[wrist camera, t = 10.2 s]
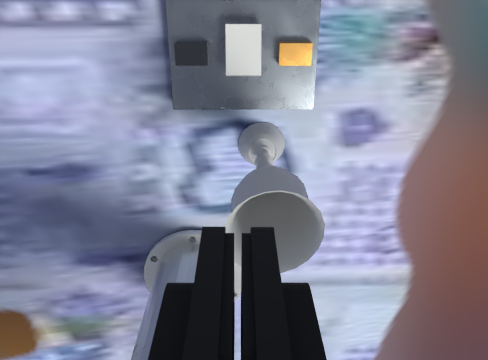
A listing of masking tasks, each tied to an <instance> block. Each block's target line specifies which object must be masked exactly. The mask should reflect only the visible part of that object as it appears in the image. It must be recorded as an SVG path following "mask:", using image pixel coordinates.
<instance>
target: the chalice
mask: <svg viewBox="0 0 488 360" xmlns="http://www.w3.org/2000/svg"><path fill="white" fill-rule="evenodd" d="M238 146H239V151H240V153H241V156H242V157H243V158H244V159H245V160H246V161H248V162H249V163H251V164H253V165H256V167H257V168H256V169H255V170H253V171H252V172H250V173H249V174H248V175H246V176H245V178H244V179H243V180H242V181H241V182H240V183H239V185H238V186H237V187H236V188H235V191H234V193H233V196H232V200H231V214H230V215H229V217H228V218H227V221H226V224H225V226H224V227H225V228H226V233H234V261H235V262H236V263H237V264H238V265H239V266H241V255H242V233H250V230H251V227H274V233H275V240H276V247H277V254H278V262H279V269H280V273H282V272H285V271H288V270H291V269H294V268H296V267H298V266H300V265H301V264H303V263H305V262H306V261H308V260H309V259H310V258H311V257H312V256H313V254H314V253H315V252H316V251H317V250H318V248H319V246H320V244H321V242H322V240H323V238H324V226H325V224H324V221H323V218H322V215H321V212H320V210H319V209H318V208H317V207H316V206H315V205H314V204H313V202H312V201H311V200H309V199H308V195H307V192H306V189H305V186H304V184H303V183H302V182H301V180H300V179H299V178H298V177H297V176H296V175H294V174H292V173H290V172H288V171H287V170H285V169H283V168H281V167H276V166H273V165H272V164H273V162H274V161H276V160H277V159H278V158H279V157H280V156H281V154H282V153H283V150H284V147H285V139H284V137H283V134H282V132H281V131H280V130H279V129H278V128H277V127H276V126H274V125H273V124H270V123H266V122H258V123H255V124H252V125H250V126H248V127H247V128H246V129H244V131H243V132H242V134H241V135H240V138H239V142H238Z"/></svg>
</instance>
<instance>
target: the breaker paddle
mask: <svg viewBox="0 0 488 360" xmlns="http://www.w3.org/2000/svg"><path fill="white" fill-rule="evenodd" d="M225 34H226V76H261V24H225Z"/></svg>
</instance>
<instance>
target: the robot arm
mask: <svg viewBox="0 0 488 360" xmlns="http://www.w3.org/2000/svg"><path fill="white" fill-rule="evenodd" d="M144 280H145V283H146V286H147V289H148V290H149V292H150V295H149V298H148V302H147V305H146V309H145V312H144V316H143V319H142V323H141V326H140V330H139V333H138V337H137V340H136V344H135V347H134V351H133V354H132V358H131V360H234V301H235V300H236V299H237V298H238V297H239V295H240V294H241V360H327V359H326V355H325V351H324V346H323V342H322V338H321V333H320V329H319V325H318V320H317V316H316V311H315V307H314V303H313V298H312V294H311V290H310V286H309V284H308V283H281V276H280V269H279V262H278V254H277V247H276V240H275V233H274V227H251V230H250V233H242V255H241V266H239V265H238V264H237V263H236V262H235V261H234V233H226V228H225V227H202V231H201V230H186V231H179V232H176V233H173V234H170V235H168V236H166V237H164V238H163V239H161V240H160V241H159V242H158V243H156V244H155V246H154V247H153V248H152V249H151V250H150V252H149V254H148V256H147V259H146V262H145V265H144Z"/></svg>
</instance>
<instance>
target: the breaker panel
mask: <svg viewBox="0 0 488 360" xmlns="http://www.w3.org/2000/svg"><path fill="white" fill-rule="evenodd" d="M165 2H166V16H167V30H168V43H169V57H170V71H171V84H172V98H173V109H313V105H314V91H315V77H316V63H317V50H318V36H319V22H320V8H321V0H165ZM225 24H261V76H226V34H225Z"/></svg>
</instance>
